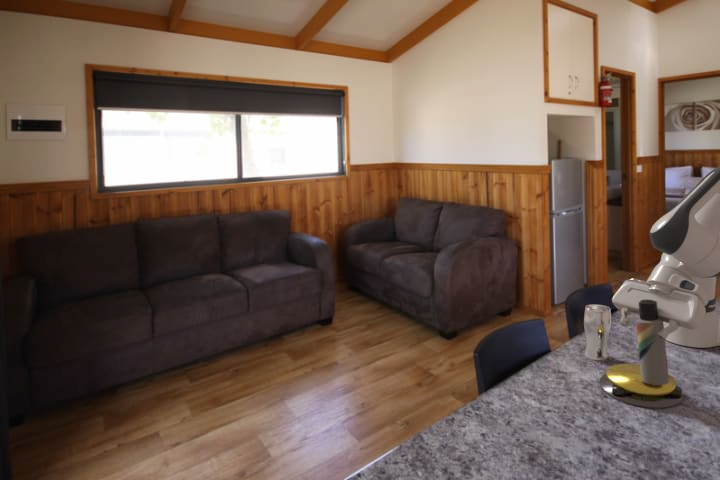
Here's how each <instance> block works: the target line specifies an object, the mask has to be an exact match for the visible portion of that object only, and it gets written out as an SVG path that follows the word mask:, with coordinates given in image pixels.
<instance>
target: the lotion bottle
mask: <svg viewBox="0 0 720 480" xmlns="http://www.w3.org/2000/svg"><path fill="white" fill-rule="evenodd" d="M639 314H640V315H639V318H637V319H636V320H635V325H636V326H635V327H636V336H637V337H636V338H637V346H638V357H639V365H640V369H641V378H642V381H643V382H644V383H647V384H652V385H665V384H668V382H669V377H668V375H669V368H668V358H667V357H668V355H667V347H666V346H667V345H666V339H663V338H661V337H660V336H659V335H658V333H659V331H660V330H661V329H664V325H663V320H661V319H658V309H657V302H656V301H653V300H641V301H640V302H639Z"/></svg>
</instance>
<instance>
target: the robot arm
mask: <svg viewBox="0 0 720 480" xmlns="http://www.w3.org/2000/svg"><path fill="white" fill-rule="evenodd" d="M649 238H650V243H651V246H652V247H653V249H656V250H658V251H660V252H662V254H661V258H660V261H659V262H658V264H657V265H656V266H654V268H653V269H652V271H651V273H650V275H649V276H648V278H647V279H646V280H642V279H638V278H633V277H632V278H631V279H627V280H626V279H625V280H624V281H623V283H622V285H621V286H620V287H619V288H618V289H617V291H616V292H615V293H614V295H613V297H612V298H611V301H612V304H613V305H614V306H615V308H616V309H618V310H621V311H620V312H621V318H620V320H619V324H620V326H622V327H624V328H628V327H629V325H630V324H631V321H630V320H629V318H628V316H631V314H636V315H639V316H640V314H639V302H640V301H641V300H653V301H656V302H657V309H658V319H661V320H663V325H664V329H661V330H660V331H659V333H658V335H659V336H660V337H661V338H663V339H665V341H668V342H670V343H673V344H676V345H680V346H684V347H689V348H699V349H701V348H702V349H704V348H712V347H719V346H720V317H719V315H718V314H717V313H716V311H715V310H716V309H717V307H716V306H717V298H716V297H715V295H716V284H717V283H716V282H717V278H718V277H720V165H718V166H717V167H715V168H713V169H712V170H710V172H708V173H707V174H706V175H705V176H704V177H703V178H702V179H701V180H700V181H699V182H697V183H696V185H695V186H693V187H692V188H691V189H690V190H689V191H688V192H687V193H686V194H685V195H684V196H683V197H682V198H681V199H680V200H679V201H678V202H677V203H676V204H675V205H674V206H672V207H671V209H670V210H668V211H667V212H666V213H665V214H664V215H662V216H661V217H660V218H659V219H657V220H656V221H655V222H654V224H652V226H651V227H650V229H649Z"/></svg>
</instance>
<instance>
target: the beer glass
mask: <svg viewBox="0 0 720 480" xmlns="http://www.w3.org/2000/svg"><path fill="white" fill-rule="evenodd" d="M584 309H585V310H584V316H583V317H584V318H583V326H584V334H585V339H586V346H585V349H584V356H585V357H586V358H587V359H589V360H592V361H606V360H607V359H608V356H609V355H608V348H607V347H608V346H607V344H608V339H609V337H610V336H609V335H610V331H611V328H612V327H611V326H612V312H611V311H612V310H611V308H610V306H607V305H603V304H587V305H585V308H584Z"/></svg>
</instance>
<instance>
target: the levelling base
mask: <svg viewBox="0 0 720 480" xmlns="http://www.w3.org/2000/svg"><path fill="white" fill-rule="evenodd" d="M668 377H669V382H668V384H665V385H652V384H647V383H644V382H643V381H642V378H641V369H640V364H637V363H619V364H614V365H611V366H609V367H608V368H607V370H606V373H604V374H603V375H602V376H601V377H600V378H599V386H600V388H601V390H602V391H603V392H604V393H605V394H607V396H609V397H612V398H613V399H615V400H617V401H619V402H621V403H624V404H627V405H630V406H634V407H638V408H639V407H640V408H644V409H653V410H655V409H656V410H657V409H658V410H661V409H670V408H674V407H677V406H679V405H680V404H681V403H682V402H683V397H684V396H683V395H684V394H683V389H682V387H680V386H678V385H677V381H676V380H675V378H674V377H673V376H671V375H670V374H668Z"/></svg>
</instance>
